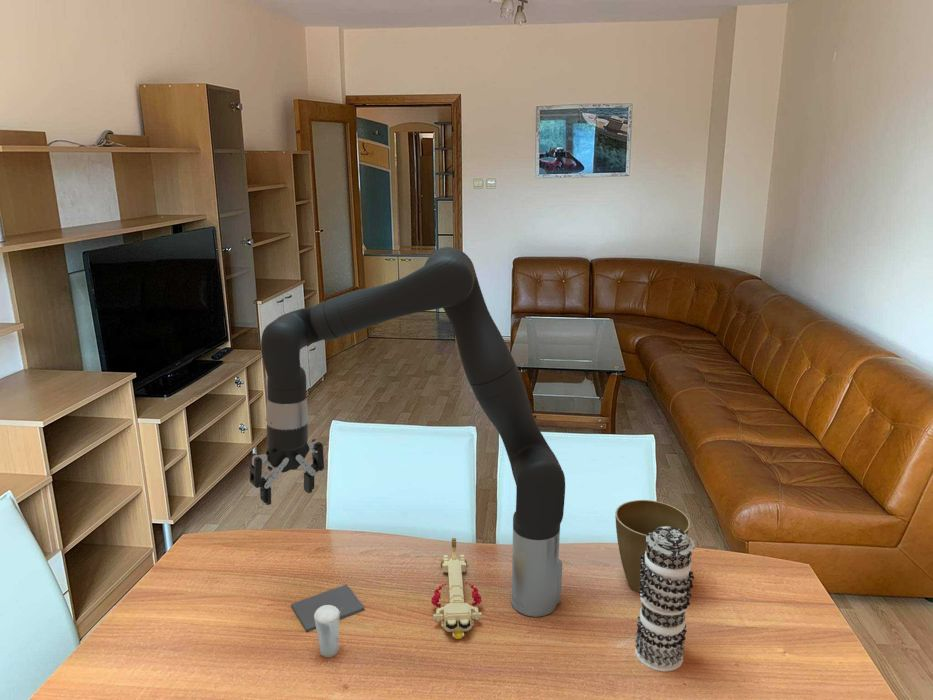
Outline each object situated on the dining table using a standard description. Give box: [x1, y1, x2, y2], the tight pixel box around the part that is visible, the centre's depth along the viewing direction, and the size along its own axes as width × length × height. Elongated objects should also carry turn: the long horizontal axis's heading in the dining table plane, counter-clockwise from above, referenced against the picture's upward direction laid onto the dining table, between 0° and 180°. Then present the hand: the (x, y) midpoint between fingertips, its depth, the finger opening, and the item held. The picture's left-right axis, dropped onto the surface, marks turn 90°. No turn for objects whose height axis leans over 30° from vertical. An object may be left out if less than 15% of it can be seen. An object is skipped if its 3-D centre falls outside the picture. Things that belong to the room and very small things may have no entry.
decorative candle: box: [635, 526, 696, 673], centre depth 120 cm, size 9×9×25 cm
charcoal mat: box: [290, 584, 365, 633], centre depth 136 cm, size 12×9×1 cm
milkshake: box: [314, 605, 343, 658], centre depth 123 cm, size 4×5×10 cm
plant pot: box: [614, 499, 691, 593], centre depth 142 cm, size 15×15×16 cm
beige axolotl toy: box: [431, 537, 483, 640], centre depth 138 cm, size 10×9×25 cm
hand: (288, 497), depth 132 cm, fingers open, 8 cm apart
